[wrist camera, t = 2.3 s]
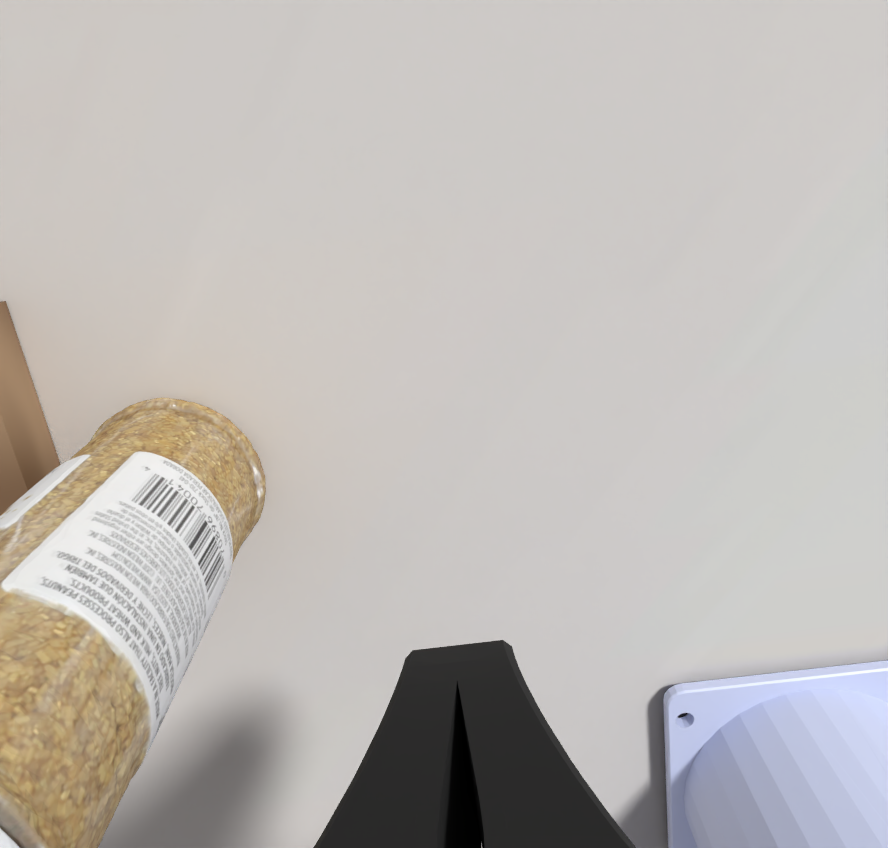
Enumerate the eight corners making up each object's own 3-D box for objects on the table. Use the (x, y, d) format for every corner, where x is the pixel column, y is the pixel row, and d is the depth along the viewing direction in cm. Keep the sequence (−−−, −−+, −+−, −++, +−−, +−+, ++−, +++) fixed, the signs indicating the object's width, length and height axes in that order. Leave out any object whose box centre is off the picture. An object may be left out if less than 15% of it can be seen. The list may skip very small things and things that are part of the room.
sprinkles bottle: (64, 413, 19) (-723, 981, 6) (241, 377, 18) (-189, 891, 6) (129, 570, 20) (-387, 1285, 7) (292, 539, 20) (46, 1225, 7)
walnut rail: (123, 653, 21) (99, 692, 19) (71, 659, 21) (43, 698, 20) (5, 301, 18) (-35, 315, 16) (-57, 309, 18) (-103, 324, 16)
